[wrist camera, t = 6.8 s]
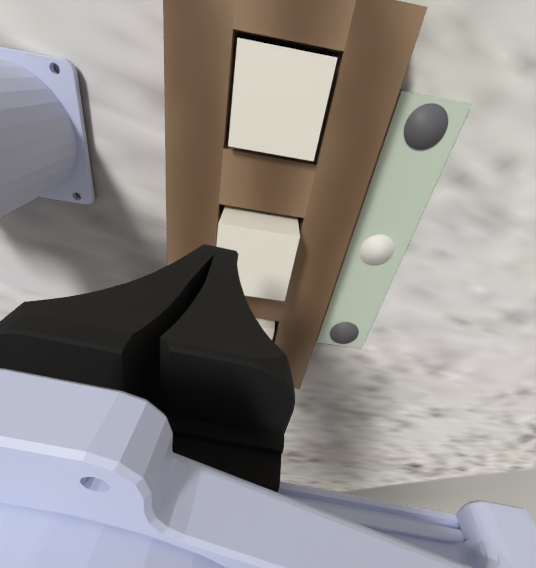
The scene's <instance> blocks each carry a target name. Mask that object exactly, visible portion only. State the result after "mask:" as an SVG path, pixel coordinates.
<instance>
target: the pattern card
mask: <svg viewBox="0 0 536 568" xmlns="http://www.w3.org/2000/svg"><path fill="white" fill-rule="evenodd" d="M471 105H472V104H469V103H463V102H458V101H453V100H448V99H443V98H438V97H433V96H428V95H423V94H418V93H412V92H407V91H402V90H400V93H399V96H398V98H397V101H396V104H395V107H394V110H393V113H392V116H391V119H390V122H389V125H388V128H387V131H386V134H385V137H384V140H383V143H382V146H381V149H380V152H379V155H378V158H377V161H376V164H375V167H374V170H373V173H372V176H371V179H370V182H369V185H368V188H367V191H366V194H365V197H364V200H363V203H362V206H361V209H360V212H359V214H358V217H357V220H356V223H355V226H354V229H353V232H352V235H351V238H350V241H349V244H348V247H347V250H346V253H345V256H344V259H343V262H342V265H341V268H340V271H339V274H338V277H337V280H336V283H335V286H334V289H333V292H332V295H331V298H330V301H329V304H328V307H327V310H326V313H325V316H324V319H323V322H322V325H321V328H320V331H319V333H318V336H317V339H316V341H317V343H324V344H332V345H339V346H346V347H353V348H360V349H361V348H362V346H363V344H364V342H365V339H366V337H367V335H368V333H369V330H370V328H371V326H372V324H373V322H374V319H375V317H376V315H377V313H378V311H379V308H380V306H381V304H382V302H383V300H384V297H385V295H386V293H387V291H388V288H389V286H390V284H391V282H392V280H393V277H394V275H395V273H396V271H397V269H398V266H399V264H400V262H401V260H402V257H403V255H404V253H405V251H406V249H407V246H408V244H409V242H410V240H411V238H412V235H413V233H414V231H415V229H416V227H417V224H418V222H419V220H420V218H421V215H422V213H423V211H424V209H425V207H426V204H427V202H428V200H429V198H430V196H431V193H432V191H433V189H434V187H435V184H436V182H437V180H438V178H439V176H440V173H441V171H442V169H443V167H444V165H445V162H446V160H447V158H448V156H449V154H450V151H451V149H452V147H453V145H454V142H455V140H456V138H457V136H458V134H459V131H460V129H461V127H462V125H463V123H464V120H465V118H466V116H467V114H468V111H469V109H470V107H471Z"/></svg>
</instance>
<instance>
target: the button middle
mask: <svg viewBox="0 0 536 568" xmlns="http://www.w3.org/2000/svg"><path fill="white" fill-rule="evenodd" d="M299 239H300V233H299V225H298V217H295V216H289V215H283V214H277V213H271V212H265V211H259V210H253V209H246V208H240V207H234V206H228V205H225V208H224V210H223V213H222V215H221V218H220V220H219V223H218V233H217V245H216V247H221V248H225V249H230V250H235V251H237V253H238V261H237V267H238V274H239V278H240V282H241V286H242V289H243V292H244V295H245V296H251V297H258V298H265V299H272V300H279V301H285V297H286V293H287V289H288V285H289V281H290V276H291V272H292V268H293V264H294V260H295V256H296V251H297V247H298V243H299Z"/></svg>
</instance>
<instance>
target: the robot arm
mask: <svg viewBox="0 0 536 568" xmlns="http://www.w3.org/2000/svg"><path fill="white" fill-rule="evenodd" d="M55 63H56V64H57V65H58V66H59V69H60V72H59V74H58V73H56V71H55V70H54V64H55ZM76 193H78V194H80V196H81V198H78V197H77V196H76ZM38 197H41V198H47V199H54V200H60V201H66V202H72V203H79V204H85V205H89V204H91V203H93V202H94V200H95V194H94V187H93V180H92V173H91V166H90V159H89V152H88V145H87V138H86V131H85V123H84V116H83V109H82V102H81V95H80V88H79V81H78V74H77V70H76V67H75V66H74V64H73V63H72V62H71V61H69V60H67V59H62V58H57V57H52V56H47V55H41V54H36V53H31V52H25V51H20V50H15V49H10V48H4V47H0V217H2V216H4V215H6V214H8V213H10V212H12V211H14V210H15V209H17V208H19V207H21V206H23V205H25V204H27V203H28V202H30V201H32V200H34V199H36V198H38ZM237 261H238V253H237V251H235V250H230V249H225V248H221V247H216V246H211V245H206V244H203V245H202V246H200V247H198V248H197V249H195V250H193V251H192V252H190V253H189V254H187V255H185V256H184V257H182V258H180V259H179V260H177V261H175V262H174V263H172V264H170V265H168V266H166V267H164V268H162V269H160V270H158V271H156V272H154V273H152V274H149V275H147V276H144V277H142V278H139V279H137V280H134V281H131V282H128V283H125V284H121V285H118V286H114V287H111V288H107V289H104V290H100V291H95V292H91V293H86V294H81V295H75V296H70V297H63V298H55V299H47V300H38V301H29V302H24V303H22V304H21V305H20V306H18V307H17V308H16V309H15V310H14V311H12V312H11V313H10V314H9V315H7V316H6V317H5V318H4V319H3V320H1V321H0V568H536V526H535V525H534V523H533V521H532V519H531V517H530V515H529V513H528V511H527V510H525V509H524V508H521V507H515V506H510V505H505V504H500V503H494V502H489V501H481V500H477V501H471V502H469V503H467V504H465V505H464V506H462V507H461V508H460V510H459V511H458V512H457V514H452V513H447V512H441V511H436V510H431V509H425V508H420V507H415V506H409V505H404V504H398V503H392V502H387V501H382V500H376V499H371V498H366V497H360V496H355V495H349V494H344V493H339V492H334V491H328V490H323V489H317V488H312V487H306V486H301V485H296V484H290V483H285V482H280V469H281V454H282V452H283V448H284V433H285V431H286V428H287V426H288V423H289V420H290V418H291V415H292V413H293V410H294V404H295V392H294V384H293V378H292V373H291V369H290V365H289V361H288V357H287V355H286V354H285V353H284V352H283V351H282V350H281V349H280V348H279V347H278V346H277V345H276V344H275V343H274V342H273V341H272V340H271V339H270V338H269V336H268V335H267V334H266V333H265V331H264V330H263V328H262V327H261V325H260V324H259V322H258V321H257V319H256V318H255V316H254V314H253V313H252V311H251V309H250V307H249V305H248V302H247V300H246V298H245V295H244V292H243V289H242V286H241V282H240V278H239V274H238V267H237Z"/></svg>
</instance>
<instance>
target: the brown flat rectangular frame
mask: <svg viewBox="0 0 536 568" xmlns="http://www.w3.org/2000/svg"><path fill="white" fill-rule="evenodd" d="M426 10H427V7H425V6H420V5H415V4H411V3H406V2H401V1H397V0H163V15H164V82H165V150H166V217H167V266H168V265H170V264H172V263H174V262H175V261H177V260H179V259H180V258H182V257H184V256H185V255H187V254H189V253H190V252H192V251H193V250H195V249H197V248H198V247H200V246H202V245H203V244H206V245H211V246H216V245H217V233H218V223H219V220H220V218H221V215H222V213H223V210H224V205H228V206H234V207H240V208H246V209H253V210H259V211H265V212H271V213H277V214H283V215H289V216H295V217H298V225H299V233H300V239H299V243H298V247H297V251H296V256H295V260H294V264H293V268H292V272H291V276H290V281H289V285H288V289H287V293H286V297H285V301H279V300H272V299H265V298H258V297H251V296H245V298H246V300H247V302H248V305H249V307H250V309H251V311H252V313H253V314H254V316H255V318H259V319H266V320H273V321H275V330H274V335H273V339H272V341H273V342H274V343H275V344H276V345H277V346H278V347H279V348H280V349H281V350H282V351H283V352H284V353H285V354H286V355H287V357H288V361H289V365H290V369H291V373H292V378H293V384H294V388H298V389H300V386H301V383H302V380H303V377H304V374H305V371H306V368H307V365H308V362H309V359H310V356H311V353H312V350H313V347H314V344H315V341H316V338H317V335H318V332H319V329H320V326H321V323H322V320H323V317H324V314H325V312H326V309H327V306H328V303H329V300H330V297H331V294H332V291H333V288H334V285H335V282H336V279H337V276H338V273H339V270H340V267H341V264H342V261H343V258H344V255H345V252H346V249H347V246H348V243H349V240H350V237H351V234H352V231H353V228H354V225H355V222H356V219H357V216H358V213H359V210H360V207H361V204H362V201H363V198H364V195H365V192H366V189H367V186H368V183H369V180H370V177H371V174H372V171H373V168H374V165H375V162H376V159H377V156H378V153H379V150H380V147H381V145H382V142H383V139H384V136H385V133H386V130H387V127H388V124H389V121H390V118H391V115H392V112H393V109H394V106H395V103H396V100H397V97H398V94H399V91H400V88H401V85H402V82H403V79H404V76H405V73H406V70H407V67H408V64H409V61H410V58H411V55H412V52H413V49H414V46H415V43H416V40H417V37H418V34H419V31H420V28H421V25H422V22H423V19H424V16H425V13H426ZM240 35H243V36H248V37H253V38H258V39H263V40H268V41H273V42H278V43H283V44H288V45H293V46H298V47H303V48H308V49H313V50H318V51H323V52H328V53H333V54H334V57H337V62H336V67H335V71H334V75H333V80H332V84H331V88H330V93H329V97H328V101H327V106H326V110H325V114H324V119H323V123H322V127H321V132H320V136H319V140H318V145H317V149H316V153H315V157H314V161H309V160H303V159H297V158H292V157H286V156H280V155H275V154H269V153H264V152H258V151H252V150H247V149H241V148H235V147H230V146H228V141H229V129H230V118H231V106H232V95H233V83H234V72H235V60H236V49H237V38H239V37H240Z"/></svg>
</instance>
